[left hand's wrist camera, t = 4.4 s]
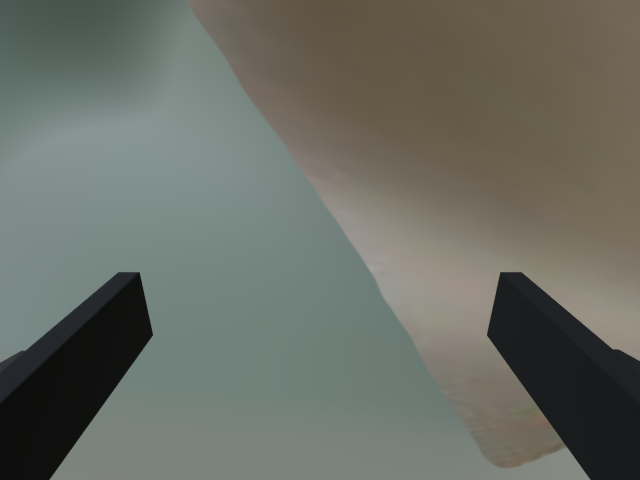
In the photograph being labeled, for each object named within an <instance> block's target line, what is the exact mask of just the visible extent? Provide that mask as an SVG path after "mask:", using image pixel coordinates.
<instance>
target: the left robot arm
mask: <svg viewBox="0 0 640 480" xmlns="http://www.w3.org/2000/svg"><path fill="white" fill-rule="evenodd" d="M152 336H153V333H152V328H151V323H150V319H149V314H148V309H147V305H146V300H145V295H144V291H143V286H142V281H141V277H140V273H139V272H119V273H117V274H116V275H115V276H114V277H112V278H111V279H110V280H109V281H108V282H107V283H105V284H104V285H103V286H102V287H101V288H99V289H98V290H97V291H96V292H95V293H93V294H92V295H91V296H90V297H89V298H88V299H86V300H85V301H84V302H83V303H82V304H80V305H79V306H78V307H77V308H76V309H75V310H73V311H72V312H71V313H70V314H69V315H67V316H66V317H65V318H64V319H63V320H61V321H60V322H59V323H58V324H57V325H56V326H54V327H53V328H52V329H51V330H50V331H48V332H47V333H46V334H45V335H44V336H43V337H41V338H40V339H39V340H38V341H37V342H35V343H34V344H33V345H32V346H31V347H30V348H28V349H27V350H26V351H21V352H19V353H17V354H15V355H13V356H12V357H10V358H8V359H6V360H4V361H3V362H1V363H0V480H50V478H51V477H52V475H53V474H54V473H55V471H56V470H57V468H58V467H59V466H60V464H61V463H62V461H63V460H64V459H65V457H66V456H67V454H68V453H69V452H70V450H71V449H72V447H73V446H74V445H75V443H76V442H77V440H78V439H79V438H80V436H81V435H82V433H83V432H84V431H85V429H86V428H87V427H88V425H89V424H90V422H91V421H92V420H93V418H94V417H95V415H96V414H97V413H98V411H99V410H100V408H101V407H102V406H103V404H104V403H105V401H106V400H107V399H108V397H109V396H110V394H111V393H112V392H113V390H114V389H115V388H116V386H117V385H118V383H119V382H120V381H121V379H122V378H123V376H124V375H125V374H126V372H127V371H128V369H129V368H130V367H131V365H132V364H133V362H134V361H135V360H136V358H137V357H138V355H139V354H140V353H141V351H142V350H143V348H144V347H145V346H146V344H147V343H148V341H149V340H150V339H151V337H152ZM487 336H488V337H489V339H490V340H491V341H492V343H493V344H494V346H495V347H496V348H497V350H498V351H499V353H500V354H501V355H502V357H503V358H504V360H505V361H506V362H507V364H508V365H509V367H510V368H511V369H512V371H513V372H514V374H515V375H516V376H517V378H518V379H519V381H520V382H521V383H522V385H523V386H524V388H525V389H526V390H527V392H528V393H529V394H530V396H531V397H532V399H533V400H534V401H535V403H536V404H537V406H538V407H539V408H540V410H541V411H542V413H543V414H544V415H545V417H546V418H547V420H548V421H549V422H550V424H551V425H552V427H553V428H554V429H555V431H556V432H557V434H558V435H559V436H560V438H561V439H562V441H563V442H564V443H565V445H566V446H567V447H568V449H569V450H570V452H571V453H572V454H573V456H574V457H575V459H576V460H577V461H578V463H579V464H580V466H581V467H582V468H583V470H584V471H585V473H586V474H587V475H588V477H589V478H590V480H640V361H638V360H637V359H635V358H633V357H631V356H629V355H628V354H626V353H624V352H622V351H620V350H613V349H612V348H610V347H609V346H608V345H607V344H606V343H605V342H603V341H602V340H601V339H600V338H599V337H597V336H596V335H595V334H594V333H593V332H592V331H590V330H589V329H588V328H587V327H586V326H584V325H583V324H582V323H581V322H580V321H579V320H577V319H576V318H575V317H574V316H573V315H571V314H570V313H569V312H568V311H567V310H565V309H564V308H563V307H562V306H561V305H560V304H558V303H557V302H556V301H555V300H554V299H552V298H551V297H550V296H549V295H548V294H547V293H545V292H544V291H543V290H542V289H541V288H539V287H538V286H537V285H536V284H535V283H534V282H532V281H531V280H530V279H529V278H528V277H526V276H525V275H524V274H523V273H522V272H500V277H499V281H498V286H497V291H496V295H495V300H494V305H493V309H492V314H491V319H490V323H489V328H488V333H487Z"/></svg>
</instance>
